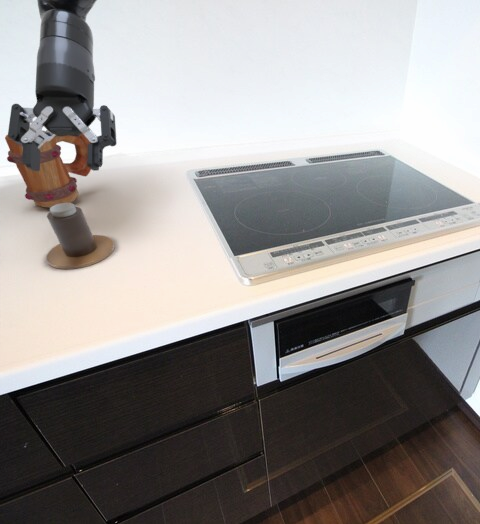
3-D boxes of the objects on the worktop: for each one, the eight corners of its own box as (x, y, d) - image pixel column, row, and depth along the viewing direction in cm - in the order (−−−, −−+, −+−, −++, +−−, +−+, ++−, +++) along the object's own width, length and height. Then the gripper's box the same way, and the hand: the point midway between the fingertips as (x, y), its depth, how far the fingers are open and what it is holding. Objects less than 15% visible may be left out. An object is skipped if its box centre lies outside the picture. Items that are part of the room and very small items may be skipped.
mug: (42, 217, 70) (4, 139, 62) (22, 205, 74) (-17, 130, 65) (116, 192, 81) (92, 122, 72) (95, 183, 84) (70, 115, 75)
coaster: (47, 275, 56) (45, 272, 56) (48, 246, 63) (46, 243, 62) (117, 258, 61) (116, 256, 60) (111, 232, 67) (110, 230, 67)
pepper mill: (65, 260, 59) (43, 216, 54) (64, 246, 62) (44, 204, 57) (98, 252, 61) (79, 210, 56) (96, 239, 64) (78, 198, 59)
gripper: (-1, 58, 55) (-8, 158, 52) (102, 62, 57) (101, 158, 55) (32, 89, 62) (28, 179, 60) (123, 91, 65) (123, 177, 62)
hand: (63, 168), depth 57 cm, fingers open, 8 cm apart
